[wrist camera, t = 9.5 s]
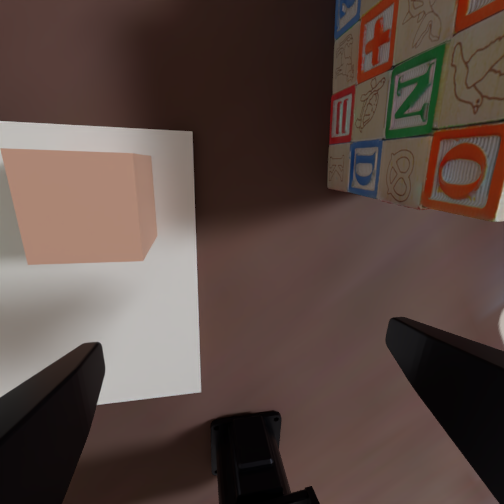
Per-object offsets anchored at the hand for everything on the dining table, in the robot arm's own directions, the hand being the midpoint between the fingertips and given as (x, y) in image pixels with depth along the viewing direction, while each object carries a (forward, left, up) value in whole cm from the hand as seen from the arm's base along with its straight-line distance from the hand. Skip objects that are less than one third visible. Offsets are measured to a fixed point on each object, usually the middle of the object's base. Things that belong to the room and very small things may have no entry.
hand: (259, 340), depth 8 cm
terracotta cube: (+3, +7, -11) cm, 14 cm away
